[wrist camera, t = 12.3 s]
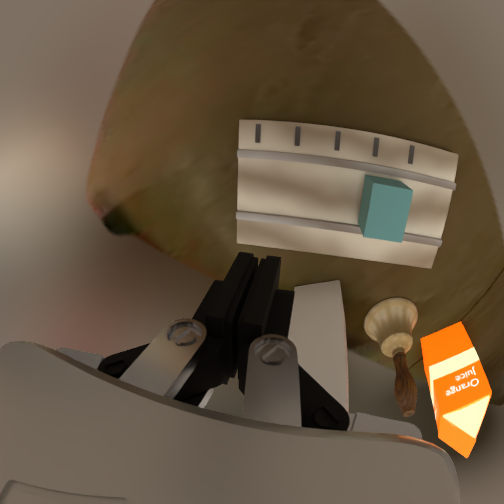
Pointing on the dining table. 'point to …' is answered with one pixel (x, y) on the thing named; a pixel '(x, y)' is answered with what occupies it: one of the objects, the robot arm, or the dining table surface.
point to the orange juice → (455, 386)
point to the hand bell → (396, 343)
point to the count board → (336, 190)
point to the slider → (384, 208)
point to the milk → (321, 336)
